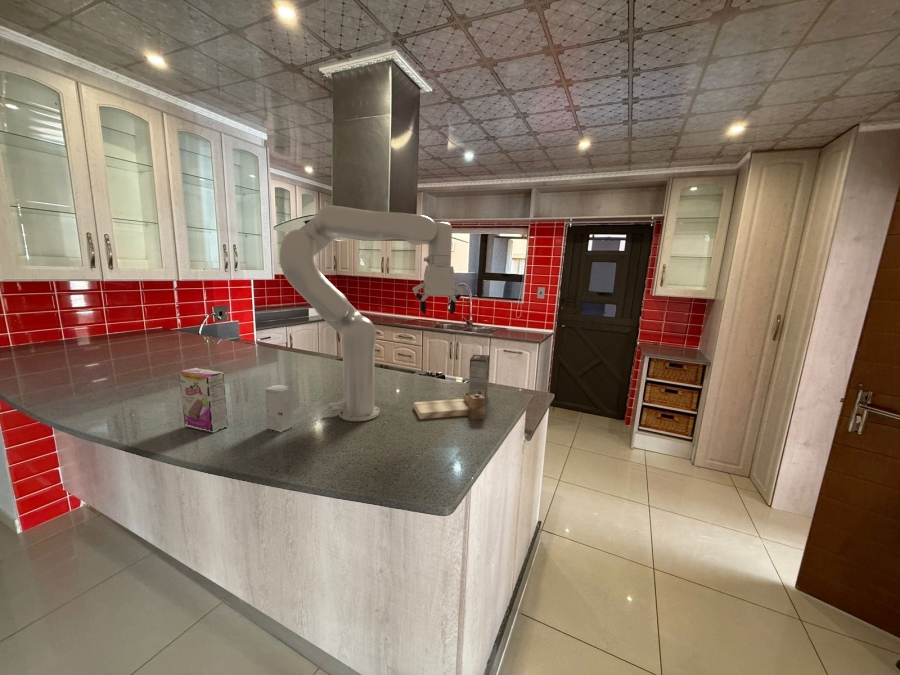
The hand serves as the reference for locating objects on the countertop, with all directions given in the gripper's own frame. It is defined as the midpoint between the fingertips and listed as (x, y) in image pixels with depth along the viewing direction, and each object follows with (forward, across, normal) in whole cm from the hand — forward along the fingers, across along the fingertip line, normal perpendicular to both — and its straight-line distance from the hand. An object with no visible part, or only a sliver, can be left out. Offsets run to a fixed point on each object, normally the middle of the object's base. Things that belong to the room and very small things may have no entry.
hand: (437, 313), depth 116 cm
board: (+32, +3, -7) cm, 33 cm away
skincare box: (+33, -48, -10) cm, 59 cm away
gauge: (+32, +10, -10) cm, 35 cm away
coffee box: (+32, +17, +2) cm, 37 cm away
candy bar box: (+33, -68, -5) cm, 75 cm away
